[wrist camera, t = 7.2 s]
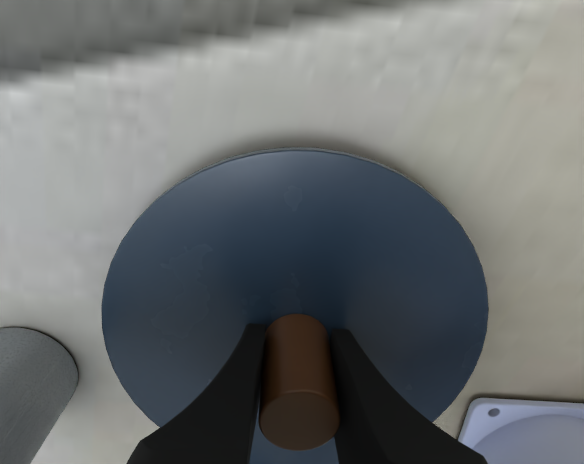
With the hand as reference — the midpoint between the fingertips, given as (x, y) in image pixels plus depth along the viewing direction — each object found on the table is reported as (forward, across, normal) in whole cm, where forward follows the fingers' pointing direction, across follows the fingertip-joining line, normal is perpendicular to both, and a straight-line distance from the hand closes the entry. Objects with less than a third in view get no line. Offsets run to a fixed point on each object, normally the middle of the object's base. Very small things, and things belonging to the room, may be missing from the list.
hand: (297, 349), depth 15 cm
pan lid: (+1, 0, 0) cm, 1 cm away
